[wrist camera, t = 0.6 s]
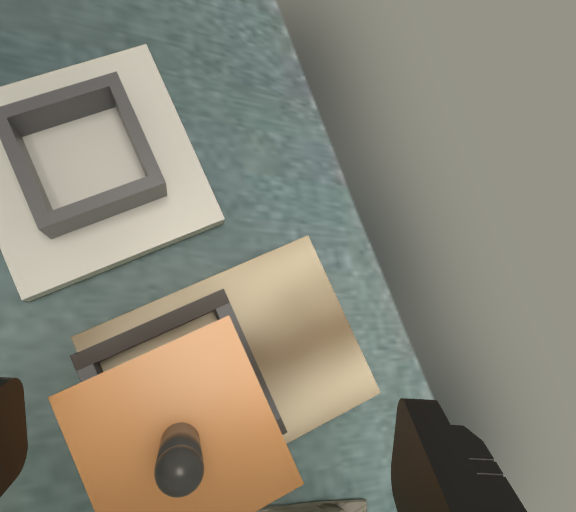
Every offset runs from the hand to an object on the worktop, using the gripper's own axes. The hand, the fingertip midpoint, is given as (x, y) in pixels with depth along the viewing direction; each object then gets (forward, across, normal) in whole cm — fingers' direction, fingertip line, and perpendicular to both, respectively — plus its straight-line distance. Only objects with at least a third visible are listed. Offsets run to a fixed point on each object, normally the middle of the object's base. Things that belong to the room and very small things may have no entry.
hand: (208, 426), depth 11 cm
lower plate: (+26, +13, -3) cm, 29 cm away
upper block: (+23, +3, +9) cm, 25 cm away
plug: (+15, +4, +7) cm, 17 cm away
